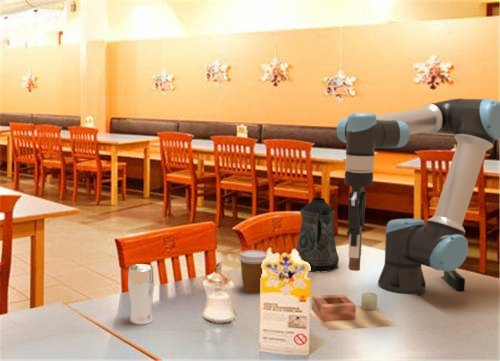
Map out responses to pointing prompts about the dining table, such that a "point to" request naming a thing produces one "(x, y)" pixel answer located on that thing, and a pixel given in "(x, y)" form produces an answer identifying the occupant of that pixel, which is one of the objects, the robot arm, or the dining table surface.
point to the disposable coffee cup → (251, 269)
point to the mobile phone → (455, 280)
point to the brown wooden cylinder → (355, 262)
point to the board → (359, 322)
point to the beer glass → (141, 293)
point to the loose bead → (369, 301)
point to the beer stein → (318, 236)
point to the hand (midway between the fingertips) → (354, 255)
